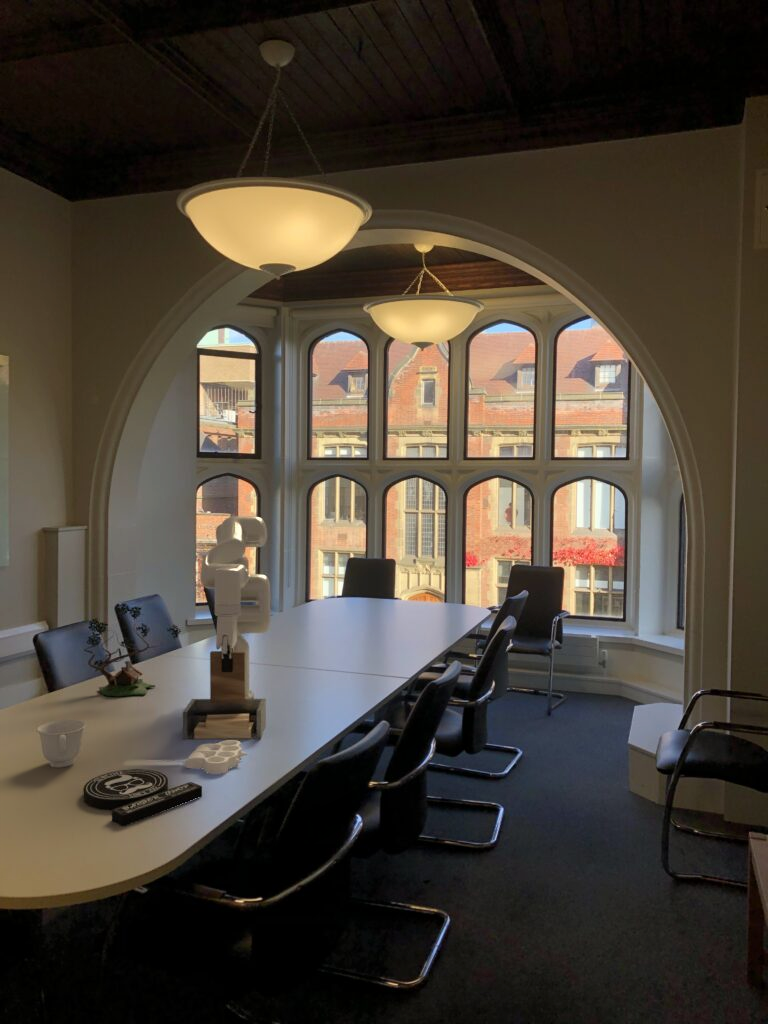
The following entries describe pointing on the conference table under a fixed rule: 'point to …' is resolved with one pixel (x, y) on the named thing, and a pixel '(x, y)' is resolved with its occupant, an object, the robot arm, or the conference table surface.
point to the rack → (203, 707)
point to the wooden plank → (227, 679)
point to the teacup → (61, 741)
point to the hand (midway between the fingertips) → (227, 670)
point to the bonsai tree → (128, 676)
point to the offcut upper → (227, 721)
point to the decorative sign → (136, 794)
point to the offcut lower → (222, 732)
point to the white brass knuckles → (216, 756)
